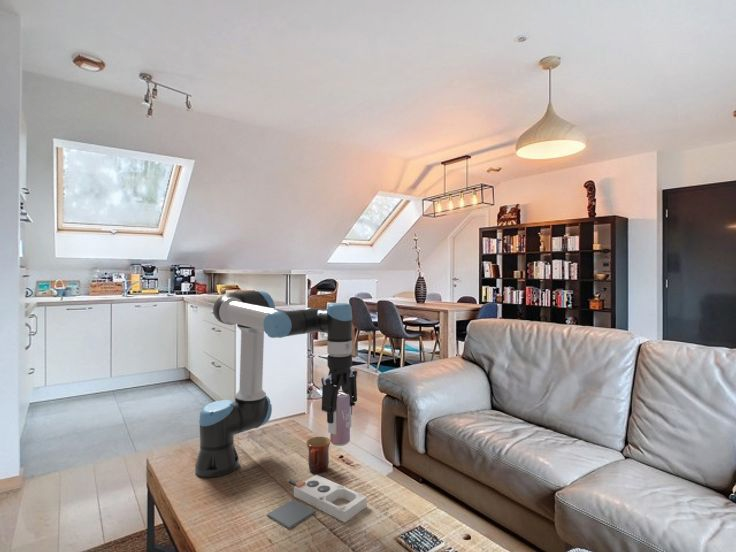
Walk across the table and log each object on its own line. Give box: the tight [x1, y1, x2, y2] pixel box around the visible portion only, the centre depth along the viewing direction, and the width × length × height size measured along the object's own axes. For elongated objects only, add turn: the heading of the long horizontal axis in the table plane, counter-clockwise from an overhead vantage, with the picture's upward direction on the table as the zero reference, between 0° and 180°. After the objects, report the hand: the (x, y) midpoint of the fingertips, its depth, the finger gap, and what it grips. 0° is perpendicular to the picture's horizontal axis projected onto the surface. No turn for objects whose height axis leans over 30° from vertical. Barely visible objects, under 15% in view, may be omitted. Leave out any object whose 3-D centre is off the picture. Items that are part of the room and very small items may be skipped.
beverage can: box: [329, 390, 351, 447], centre depth 124 cm, size 6×6×15 cm
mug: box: [305, 435, 331, 474], centre depth 147 cm, size 12×9×10 cm
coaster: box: [266, 499, 316, 530], centre depth 121 cm, size 10×10×1 cm
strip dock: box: [288, 474, 368, 523], centre depth 130 cm, size 30×11×4 cm, turn 51°
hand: (340, 429), depth 124 cm, fingers closed on beverage can, 6 cm apart
